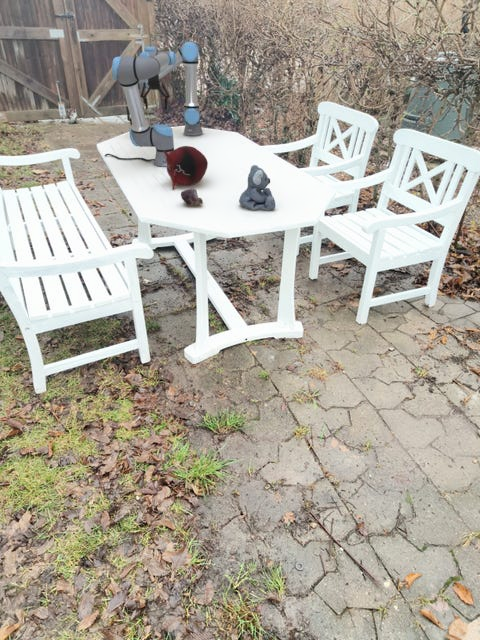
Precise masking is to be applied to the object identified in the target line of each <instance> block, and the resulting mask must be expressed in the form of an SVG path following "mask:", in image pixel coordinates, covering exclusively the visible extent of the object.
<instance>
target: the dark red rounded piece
mask: <svg viewBox="0 0 480 640" xmlns="http://www.w3.org/2000/svg"><path fill="white" fill-rule="evenodd" d="M163 152H164V153H165V155H166V157H167V158H166V159H167V167H166V173H167V174H168V176H169V177H170V180H171V182H172V190H175V188H176V185H177V186H186V187H187V186H188V187H189V186H193V185H196V184H197V183H199V182H200V181H201V180H202V179H203V178H204V176H205V174H206V173H207V170H208V164H209V163H208V159H207V158H206V155H204V153H203V152H201V150H199V149H197V148H196V147H194V146H190V145H182V146H178V147H176V148H174V150H173V151H171V152H170V153H169V154H168V153H167V152H166V151H165V150H163Z"/></svg>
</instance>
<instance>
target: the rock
mask: <svg viewBox="0 0 480 640" xmlns="http://www.w3.org/2000/svg"><path fill="white" fill-rule="evenodd" d="M180 197H181V200H182V201H183V202H184V203H185V205H187V206H189V207H191V206H192V207H193V206H201V205H203V204H204V202H203V199H202V197H199V195H198V190H197V189H196V188H188V189H185V190H181V192H180Z"/></svg>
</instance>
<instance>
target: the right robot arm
mask: <svg viewBox="0 0 480 640" xmlns="http://www.w3.org/2000/svg"><path fill="white" fill-rule="evenodd" d="M199 52H200V51H199V46H198V45H197V43H195V42H194V41H192V40H188V41H185V42H184V43H183V45H182V46H180V47H179V48H178V49H177V50H176V52H174V53H175V56H176V63H175V65H171V66H170V65H168V66H166V67H164V68H163V69H161V70H160V72H159V73H158V75H159V80H161V79H162V78H163V77H165V76H166V75H168V74H169V73H171V72H172V71H173V70H174V69H176V68H177V67H179V66H180V65H181V64H182V65H183V66H184V86H185V88H184V89H185V91H184V92H185V102H184V104H183V118H184V122H185V123H184V124H185V125H184V129H183V135H184V136H186V137H187V136H188V137H198V136H202V135H203V133H204V131H203V129H202V128H203V127H202V126H201V121H200V120H201V115H200V104H199V102H198V77H197V74H198V73H197V66H198V65H199ZM144 82H147V83H148V79H146V80H139V83H138V84H137V85H138V89H139V90H142V89H143V83H144ZM148 88H149V86H148V84H147V86H146V88H145V90H148ZM125 109H126V117H127V118H126V119H127V121H128V122H129V125H130V126H131V125H132V123H131V122H132V120H131V116H130V112H129V109H128V105H127V106H125ZM143 110H144V111H145V107H144V106H143Z"/></svg>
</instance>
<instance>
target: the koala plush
mask: <svg viewBox="0 0 480 640" xmlns="http://www.w3.org/2000/svg"><path fill="white" fill-rule="evenodd" d="M270 183H271V178H269V176H268V175H267V173H266V172H265V170H264V169H263V168H261V167H259V165H257V164H253V165H250V170H249V173H248V176H247V188H246V189H245V190H244V191H243V192H242V193H241V194H240V197H239V199H238V203H239V204H240V206H241V207H242V208H246V209H247V210H252V211H255V210H261V211H272V210H274V209H275V208H276V200H275V198H274V196H273V194H272V191H271V188H270V187H268V186H269V185H270Z"/></svg>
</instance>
